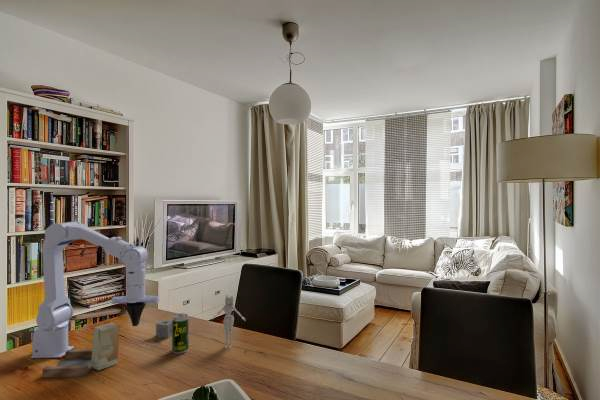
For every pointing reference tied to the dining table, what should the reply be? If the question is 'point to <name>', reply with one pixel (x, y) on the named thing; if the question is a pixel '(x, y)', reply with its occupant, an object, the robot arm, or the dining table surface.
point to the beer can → (180, 333)
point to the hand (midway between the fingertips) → (135, 325)
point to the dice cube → (164, 329)
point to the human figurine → (228, 317)
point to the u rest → (71, 365)
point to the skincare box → (105, 346)
